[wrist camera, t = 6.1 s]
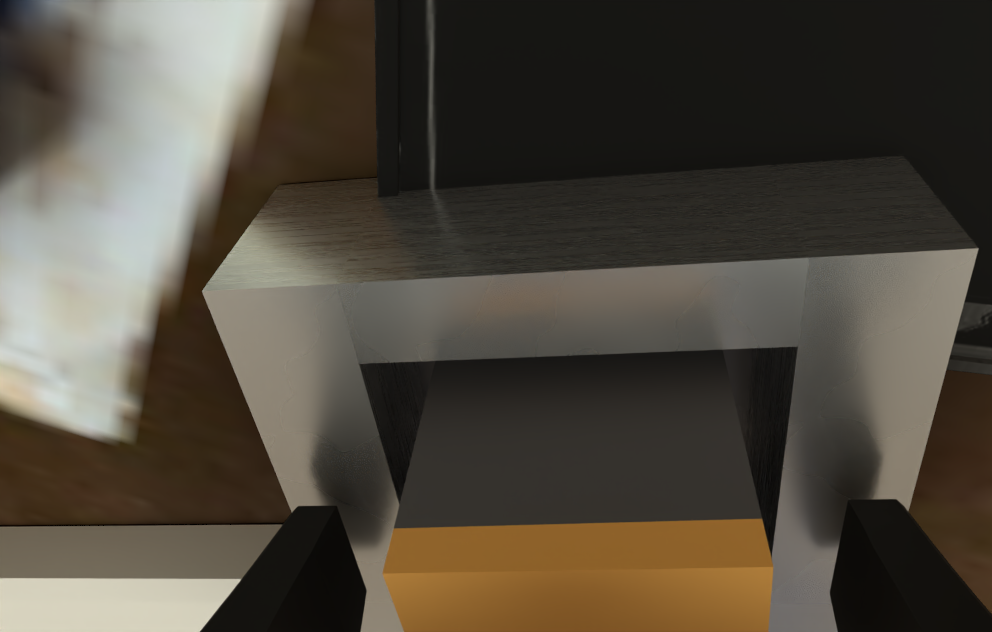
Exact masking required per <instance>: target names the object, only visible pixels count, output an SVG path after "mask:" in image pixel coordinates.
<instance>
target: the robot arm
mask: <svg viewBox="0 0 992 632" xmlns="http://www.w3.org/2000/svg"><path fill="white" fill-rule="evenodd" d="M366 593H367V589H366V586H365V584H364V581H363V578H362V575H361V572H360V570H359V567H358V564H357V561H356V558H355V555H354V553H353V550H352V547H351V544H350V541H349V539H348V536H347V533H346V530H345V527H344V524H343V522H342V519H341V516H340V513H339V510H338V508H337V506H298V507H297V508H296V509H295V510H294V511H293V512H292V513H291V514H290V516H289V517H288V518H287V520H286V521H285V522H284V524H283V525H282V526H281V528H280V529H279V530H278V532H277V533H276V534H275V536H274V537H273V538H272V540H271V541H270V542H269V544H268V545H267V546H266V547H265V549H264V550H263V551H262V553H261V554H260V555H259V557H258V558H257V559H256V561H255V562H254V563H253V565H252V566H251V567H250V569H249V570H248V571H247V572H246V574H245V575H244V576H243V578H242V579H241V580H240V582H239V583H238V584H237V586H236V587H235V588H234V589H233V591H232V592H231V593H230V594H229V596H228V597H227V598H226V599H225V601H224V602H223V603H222V604H221V606H220V607H219V608H218V609H217V611H216V612H215V613H214V614H213V616H212V617H211V618H210V619H209V621H208V622H207V623H206V624H205V626H204V627H203V628H202V629H201V631H200V632H361V626H362V619H363V613H364V606H365V600H366ZM830 598H831V602H832V607H833V612H834V617H835V622H836V627H837V631H838V632H992V614H991V613H990V612H989V611H988V609H987V608H986V607H985V606H984V605H983V604H982V602H981V601H980V600H979V599H978V598H977V596H976V595H975V594H974V593H973V592H972V591H971V589H970V588H969V587H968V586H967V584H966V583H965V582H964V581H963V580H962V578H961V577H960V576H959V575H958V574H957V572H956V571H955V570H954V569H953V568H952V566H951V565H950V564H949V563H948V561H947V560H946V559H945V558H944V556H943V555H942V554H941V553H940V551H939V550H938V549H937V548H936V546H935V545H934V544H933V543H932V541H931V540H930V539H929V538H928V536H927V535H926V534H925V533H924V531H923V530H922V529H921V527H920V526H919V525H918V524H917V522H916V521H915V520H914V518H913V517H912V516H911V515H910V513H909V512H908V511H907V509H906V508H905V507H904V505H903V504H901V503H900V502H899V501H898V500H897V499H857V500H848V502H847V507H846V512H845V517H844V522H843V527H842V532H841V537H840V542H839V548H838V553H837V558H836V563H835V568H834V573H833V578H832V583H831V588H830Z"/></svg>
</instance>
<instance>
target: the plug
mask: <svg viewBox="0 0 992 632" xmlns="http://www.w3.org/2000/svg"><path fill="white" fill-rule="evenodd" d="M382 574H383V577H384V579H385V582H386V585H387V587H388V590H389V593H390V595H391V598H392V601H393V603H394V606H395V609H396V612H397V614H398V617H399V620H400V622H401V625H402V628H403V630H404V632H768V629H769V617H770V604H771V592H772V579H773V563H772V558H771V554H770V550H769V546H768V541H767V537H766V533H765V529H764V524H763V520H762V516H761V512H760V507H759V503H758V499H757V495H756V490H755V486H754V482H753V477H752V473H751V469H750V465H749V460H748V456H747V452H746V448H745V443H744V439H743V435H742V431H741V426H740V422H739V418H738V414H737V409H736V405H735V401H734V397H733V392H732V388H731V384H730V379H729V375H728V371H727V367H726V362H725V358H724V354H723V350H698V351H672V352H647V353H621V354H596V355H571V356H545V357H520V358H494V359H469V360H444V361H435V364H434V368H433V372H432V376H431V380H430V384H429V388H428V392H427V396H426V400H425V404H424V408H423V412H422V416H421V420H420V424H419V428H418V432H417V436H416V440H415V444H414V449H413V453H412V457H411V461H410V465H409V469H408V473H407V477H406V481H405V485H404V489H403V493H402V497H401V501H400V505H399V509H398V513H397V517H396V521H395V525H394V529H393V533H392V537H391V541H390V545H389V549H388V553H387V557H386V561H385V565H384V569H383V573H382Z"/></svg>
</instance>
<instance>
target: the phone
mask: <svg viewBox="0 0 992 632" xmlns="http://www.w3.org/2000/svg"><path fill="white" fill-rule="evenodd" d="M375 62H376V127H377V191H378V197H388V196H398V193H399V192H400V191H414V190H428V189H442V188H456V187H470V186H484V185H498V184H512V183H526V182H540V181H554V180H568V179H582V178H596V177H610V176H624V175H638V174H652V173H666V172H680V171H694V170H708V169H722V168H736V167H750V166H764V165H778V164H792V163H806V162H820V161H834V160H848V159H862V158H876V157H890V156H904V157H905V158H906V159H907V161H908V162H909V163H910V164H911V165H912V167H913V168H914V169H915V170H916V172H917V173H918V174H919V175H920V177H921V178H922V179H923V180H924V182H925V183H926V184H927V185H928V186H929V188H930V189H931V190H932V191H933V193H934V194H935V195H936V196H937V198H938V199H939V200H940V201H941V202H942V204H943V205H944V206H945V207H946V209H947V210H948V211H949V212H950V214H951V215H952V216H953V217H954V219H955V220H956V221H957V222H958V223H959V225H960V226H961V227H962V228H963V230H964V231H965V232H966V233H967V235H968V236H969V237H970V238H971V240H972V241H973V242H974V243H975V244H976V246H977V247H978V248H979V249H978V253H977V256H976V260H975V264H974V268H973V271H972V275H971V279H970V282H969V286H968V290H967V294H966V297H965V301H964V305H963V309H962V312H961V316H960V320H959V324H958V327H957V331H956V335H955V339H954V342H953V346H952V350H951V354H950V357H949V361H948V365H947V369H946V370H953V371H962V372H970V373H979V374H987V375H992V0H375Z"/></svg>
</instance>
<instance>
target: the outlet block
mask: <svg viewBox="0 0 992 632" xmlns="http://www.w3.org/2000/svg"><path fill="white" fill-rule="evenodd" d="M978 249H979V248H978V247H977V246H976V244H975V243H974V242H973V241H972V240H971V238H970V237H969V236H968V235H967V233H966V232H965V231H964V230H963V228H962V227H961V226H960V225H959V223H958V222H957V221H956V220H955V219H954V217H953V216H952V215H951V214H950V212H949V211H948V210H947V209H946V207H945V206H944V205H943V204H942V202H941V201H940V200H939V199H938V198H937V196H936V195H935V194H934V193H933V191H932V190H931V189H930V188H929V186H928V185H927V184H926V183H925V182H924V180H923V179H922V178H921V177H920V175H919V174H918V173H917V172H916V170H915V169H914V168H913V167H912V165H911V164H910V163H909V162H908V161H907V159H906V158H905V157H904V156H890V157H876V158H862V159H848V160H834V161H820V162H806V163H792V164H778V165H764V166H750V167H736V168H722V169H708V170H694V171H680V172H666V173H652V174H638V175H624V176H610V177H596V178H582V179H568V180H554V181H540V182H526V183H512V184H498V185H484V186H470V187H456V188H442V189H428V190H414V191H400V192H399V193H398V196H388V197H378V191H377V178H367V179H354V180H341V181H327V182H314V183H301V184H288V185H278V187H277V188H276V189H275V191H274V192H273V194H272V195H271V196H270V198H269V199H268V201H267V202H266V203H265V205H264V206H263V207H262V209H261V210H260V212H259V213H258V214H257V216H256V217H255V219H254V220H253V221H252V223H251V224H250V225H249V227H248V228H247V230H246V231H245V232H244V234H243V235H242V237H241V238H240V239H239V241H238V242H237V243H236V245H235V246H234V248H233V249H232V250H231V252H230V253H229V254H228V256H227V257H226V259H225V260H224V261H223V263H222V264H221V266H220V267H219V268H218V270H217V271H216V272H215V274H214V275H213V277H212V278H211V279H210V281H209V282H208V284H207V285H206V286H205V288H204V289H203V290H202V293H203V295H204V298H205V300H206V303H207V305H208V308H209V310H210V312H211V315H212V317H213V320H214V322H215V325H216V327H217V330H218V332H219V335H220V337H221V339H222V342H223V344H224V347H225V349H226V352H227V354H228V357H229V359H230V362H231V364H232V367H233V369H234V371H235V374H236V376H237V379H238V381H239V384H240V386H241V389H242V391H243V394H244V396H245V399H246V401H247V403H248V406H249V408H250V411H251V413H252V416H253V418H254V421H255V423H256V426H257V428H258V431H259V433H260V435H261V438H262V440H263V443H264V445H265V448H266V450H267V453H268V455H269V458H270V460H271V463H272V465H273V467H274V470H275V472H276V475H277V477H278V480H279V482H280V485H281V487H282V490H283V492H284V494H285V497H286V499H287V502H288V504H289V507H290V509H291V512H293V511H294V510H295V509H296V508H297V507H298V506H337V508H338V510H339V513H340V516H341V519H342V522H343V524H344V527H345V530H346V533H347V536H348V539H349V541H350V544H351V547H352V550H353V553H354V555H355V558H356V561H357V564H358V567H359V570H360V572H361V575H362V578H363V581H364V584H365V586H366V589H367V593H366V600H365V606H364V613H363V619H362V626H361V632H404V630H403V628H402V625H401V622H400V620H399V617H398V614H397V612H396V609H395V606H394V603H393V601H392V598H391V595H390V593H389V590H388V587H387V585H386V582H385V579H384V577H383V574H382V573H383V569H384V565H385V561H386V557H387V553H388V549H389V545H390V541H391V537H392V533H393V529H394V525H395V521H396V517H397V513H398V509H399V505H400V501H401V497H402V493H403V489H404V485H405V481H406V477H407V473H408V469H409V465H410V461H411V457H412V453H413V449H414V444H415V440H416V436H417V432H418V428H419V424H420V420H421V416H422V412H423V408H424V404H425V400H426V396H427V392H428V388H429V384H430V380H431V376H432V372H433V368H434V364H435V361H444V360H469V359H494V358H520V357H545V356H571V355H596V354H621V353H647V352H672V351H698V350H723V354H724V358H725V362H726V367H727V371H728V375H729V379H730V384H731V388H732V392H733V397H734V401H735V405H736V409H737V414H738V418H739V422H740V426H741V431H742V435H743V439H744V443H745V448H746V452H747V456H748V460H749V465H750V469H751V473H752V477H753V482H754V486H755V490H756V495H757V499H758V503H759V507H760V512H761V516H762V520H763V524H764V529H765V533H766V537H767V541H768V546H769V550H770V554H771V558H772V563H773V579H772V592H771V604H770V617H769V629H768V632H838V631H837V627H836V622H835V617H834V612H833V607H832V602H831V598H830V588H831V583H832V578H833V573H834V568H835V563H836V558H837V553H838V548H839V542H840V537H841V532H842V527H843V522H844V517H845V512H846V507H847V502H848V500H857V499H897V500H898V501H899V502H900V503H901V504H903V505H904V507H905V508H906V509H907V511H909V507H910V503H911V500H912V496H913V492H914V488H915V485H916V481H917V477H918V473H919V470H920V466H921V462H922V458H923V455H924V451H925V447H926V443H927V440H928V436H929V432H930V428H931V425H932V421H933V417H934V414H935V410H936V406H937V402H938V399H939V395H940V391H941V387H942V384H943V380H944V376H945V372H946V369H947V365H948V361H949V357H950V354H951V350H952V346H953V342H954V339H955V335H956V331H957V327H958V324H959V320H960V316H961V312H962V309H963V305H964V301H965V297H966V294H967V290H968V286H969V282H970V279H971V275H972V271H973V268H974V264H975V260H976V256H977V253H978Z"/></svg>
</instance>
